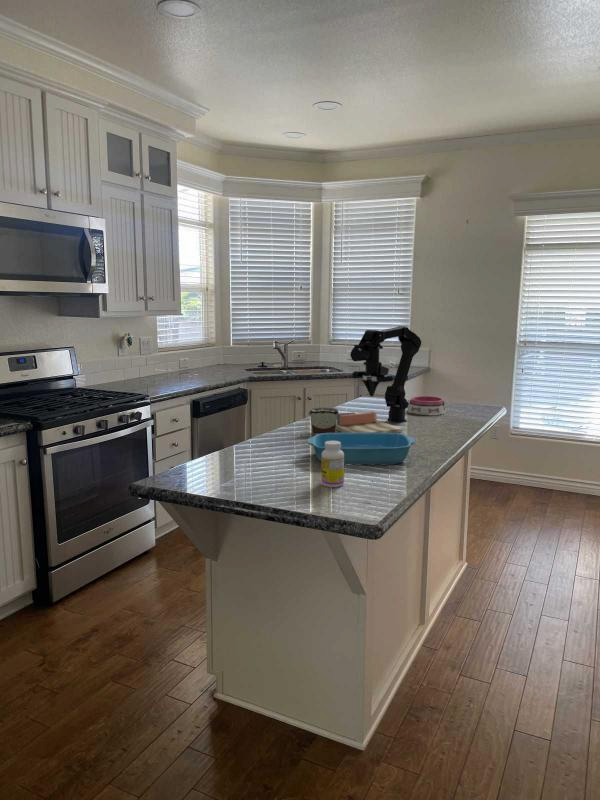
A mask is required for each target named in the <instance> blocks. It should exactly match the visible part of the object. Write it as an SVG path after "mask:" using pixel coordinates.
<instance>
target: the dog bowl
mask: <svg viewBox="0 0 600 800" xmlns="http://www.w3.org/2000/svg"><path fill="white" fill-rule="evenodd" d="M407 411H408V412H410V413H409V414H411V413H415V414H425V415H424V416H426V414H427V415H429V414H441V413H445V412H446V413H447V411H446V406H445V400H444V398H442V397H438V396H434V395H433V396H432V395H420V396H419V395H417V396H414V397H413V396H412V397H411V398H410V400H409V405H408V408H407ZM408 412H407V413H408ZM415 414H414V415H415Z"/></svg>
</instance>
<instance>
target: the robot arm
mask: <svg viewBox="0 0 600 800" xmlns="http://www.w3.org/2000/svg"><path fill="white" fill-rule="evenodd" d="M394 338H397V339H398V341H399V343H400V350H401V356H400V360H399V363H398V366H397V370H396V372H395V377H394V376H393V375H392V374H390V373H389V371H390V368H388V367H386V366H383V365H382V361H380V350H382V349H384V347H383V345H381V343H383V342H384V341H385V340H388V339H394ZM421 346H422V339H421V338H420V337H419V336H418V334H416V333H415V332H413V331H412V330H410V329H409V327H408V326H405V325H404V326H401V325H399V326H395V327H391V328H386V329H382V330H379V329H377V330H376V329H367V330H365V331H364V334H363V335H362V337H361V339H360V341H359V343H358V344H354V345H353V348H352V349H351V351H350V358H351V360H352V361H353V362H363V365H364V366H365V370H355V371H353V373H352V378H353V379H358V378H362V379H361V382H362V383H363V385H364V386H365V388H366V390H367V393H368V394H369V396H370V397H374V394H376V393H375V392H376V390H377V388H378V385H379V384H381V383H387V382H393V383H392V384H391V385H387V387H386V390H385V393H384V400H385V405H386V407H387V408H388V407H389V410H388V418H386V419H387V421H389V422H393V423H402V422H408V420H407V419H406V409H408V407H409V404H410V402H408V400H407V399H406V390H405V385H406V381H407V378H408V374H409V370H410V367H411V364H412V361H413V358H414V356H415V355H416V354H417V353H419V350H420V348H421Z"/></svg>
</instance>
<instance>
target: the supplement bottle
mask: <svg viewBox="0 0 600 800" xmlns="http://www.w3.org/2000/svg"><path fill="white" fill-rule="evenodd" d="M340 447H341V442H339V441H326V442H325V448H326V450H324V451H323V452H322V456H321V458H322V460H321V461H320V462H321V466H320V467H321V477H320V479H321V480H320V481H321V482H320V483H321V484H322V486H323V485H324V487H326V486H327V487H326V488H333V487H334V488H340V487H342V486H343V485H344V484H345V465H344V453H343V451H342V450H340ZM339 486H340V487H339Z"/></svg>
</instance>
